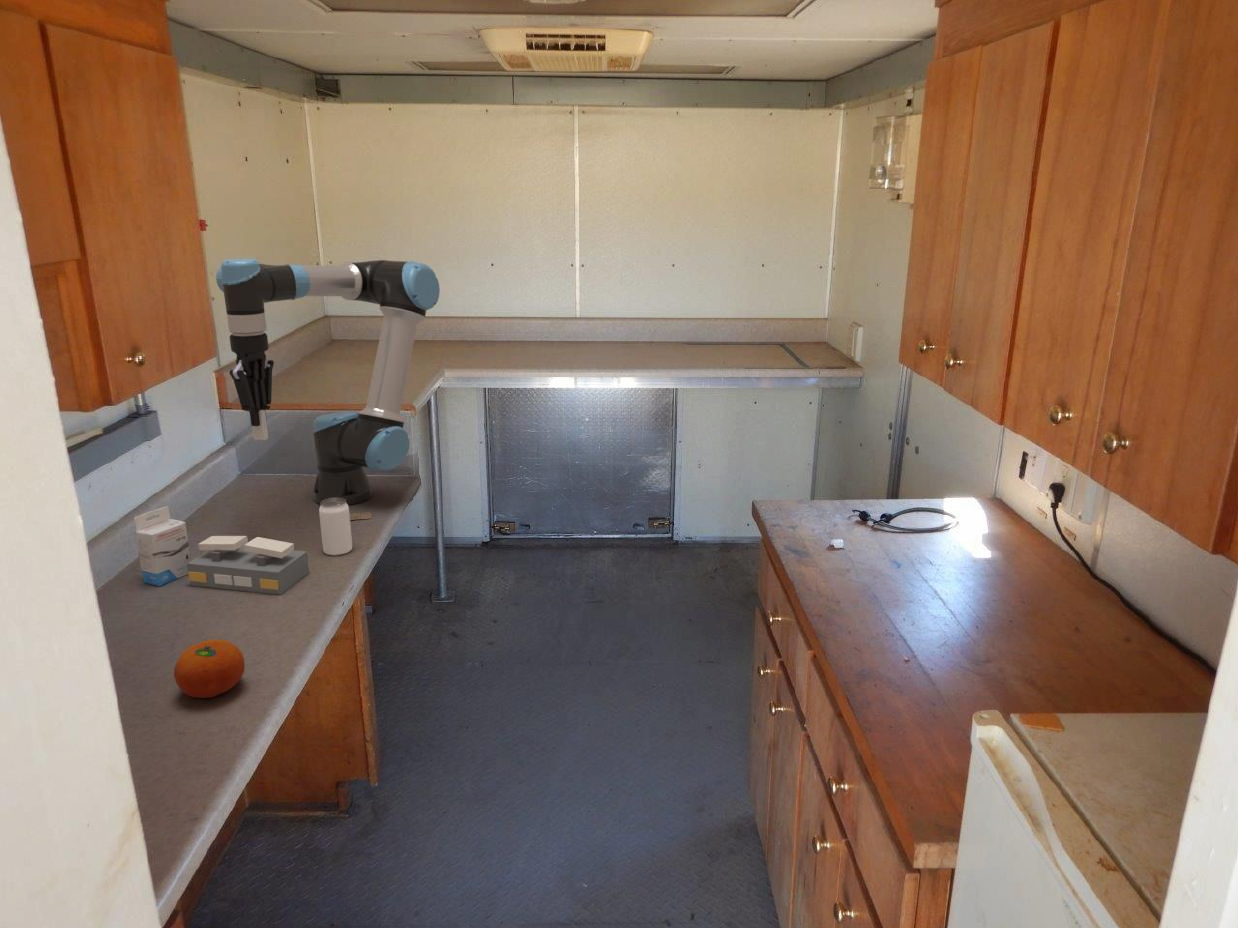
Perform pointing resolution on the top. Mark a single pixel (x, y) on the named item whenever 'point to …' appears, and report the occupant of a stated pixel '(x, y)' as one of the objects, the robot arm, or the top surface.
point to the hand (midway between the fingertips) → (260, 438)
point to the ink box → (162, 547)
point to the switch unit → (248, 571)
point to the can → (335, 526)
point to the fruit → (209, 668)
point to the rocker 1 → (223, 543)
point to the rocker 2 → (269, 547)
